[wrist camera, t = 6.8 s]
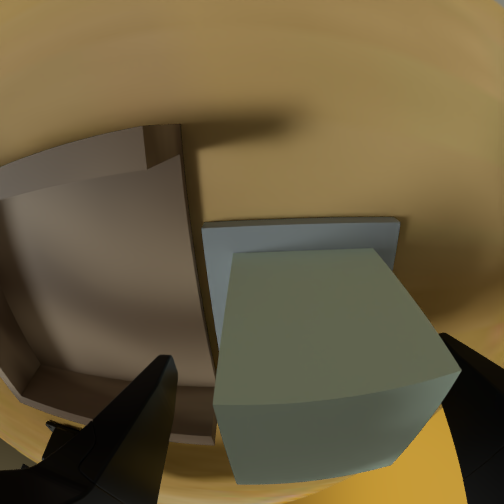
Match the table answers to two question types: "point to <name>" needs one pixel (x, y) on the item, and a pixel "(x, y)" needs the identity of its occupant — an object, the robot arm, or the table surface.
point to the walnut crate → (102, 278)
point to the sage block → (323, 366)
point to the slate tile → (288, 244)
